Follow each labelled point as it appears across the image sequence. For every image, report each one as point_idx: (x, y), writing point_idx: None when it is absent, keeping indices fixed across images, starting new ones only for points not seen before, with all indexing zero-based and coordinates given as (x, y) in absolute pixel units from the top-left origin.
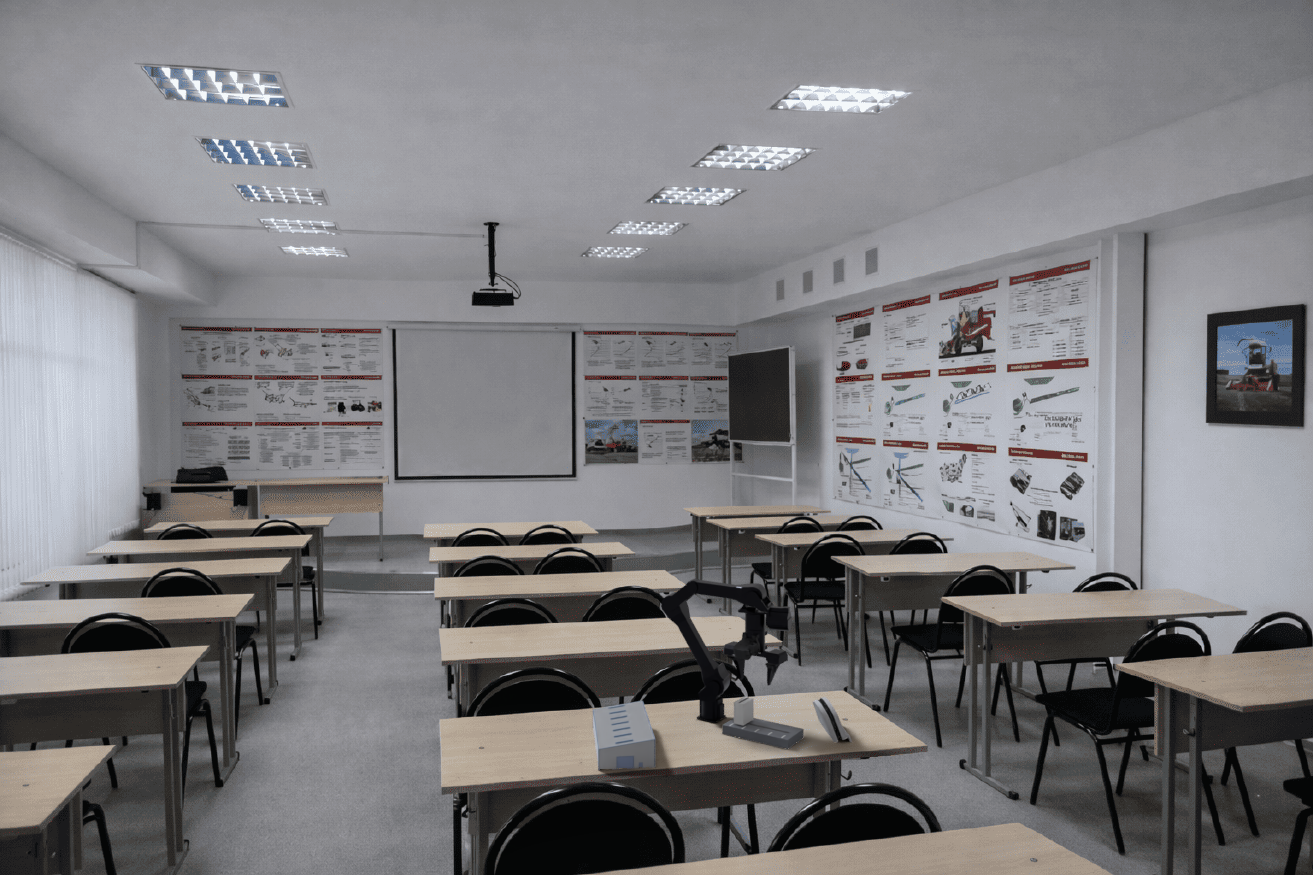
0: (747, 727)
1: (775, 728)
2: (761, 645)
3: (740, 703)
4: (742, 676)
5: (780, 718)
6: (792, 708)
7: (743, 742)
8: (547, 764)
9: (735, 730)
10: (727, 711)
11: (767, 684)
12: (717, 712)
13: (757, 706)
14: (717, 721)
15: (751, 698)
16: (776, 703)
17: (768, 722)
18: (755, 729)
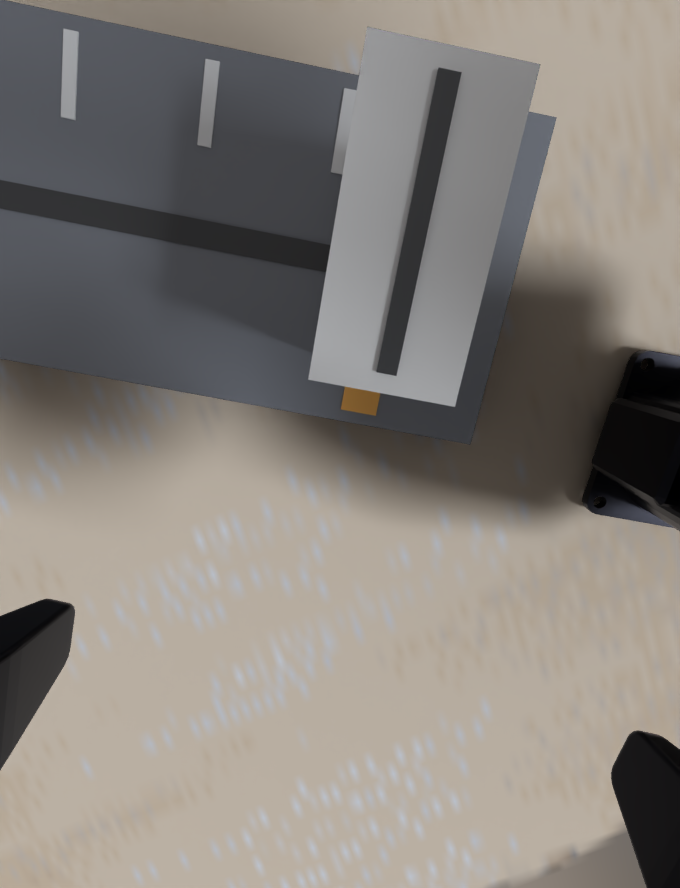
0: (315, 155)
1: (82, 242)
2: None
3: (419, 42)
4: (646, 806)
5: (223, 621)
6: (217, 797)
7: (306, 19)
8: None
9: None
10: (593, 612)
11: (59, 604)
12: (666, 404)
13: (426, 757)
14: (621, 383)
15: (332, 363)
16: (332, 836)
17: (191, 364)
18: (230, 131)
